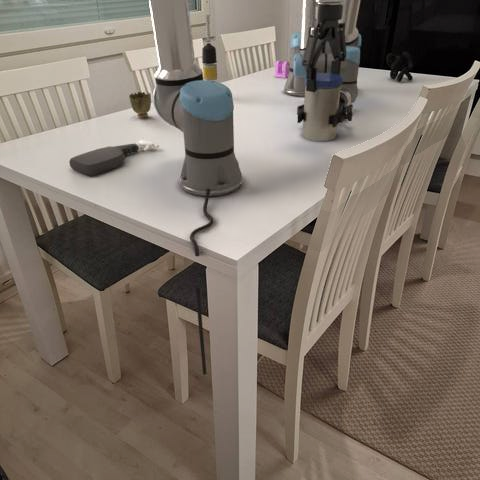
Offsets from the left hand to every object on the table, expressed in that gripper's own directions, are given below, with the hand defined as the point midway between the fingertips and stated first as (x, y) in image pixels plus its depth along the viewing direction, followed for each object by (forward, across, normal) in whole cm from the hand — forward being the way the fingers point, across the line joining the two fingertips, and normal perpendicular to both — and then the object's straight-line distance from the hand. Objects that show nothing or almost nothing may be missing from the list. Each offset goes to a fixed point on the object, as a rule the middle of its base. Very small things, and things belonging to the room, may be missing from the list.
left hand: (322, 87), depth 131 cm
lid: (-3, 0, 0) cm, 3 cm away
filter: (+15, +7, +58) cm, 61 cm away
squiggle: (+15, +85, +18) cm, 88 cm away
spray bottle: (+15, -54, +29) cm, 63 cm away
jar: (+15, 0, 0) cm, 15 cm away
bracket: (+15, +61, +64) cm, 89 cm away
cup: (+15, -26, +58) cm, 65 cm away
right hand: (+9, -4, -1) cm, 10 cm away
